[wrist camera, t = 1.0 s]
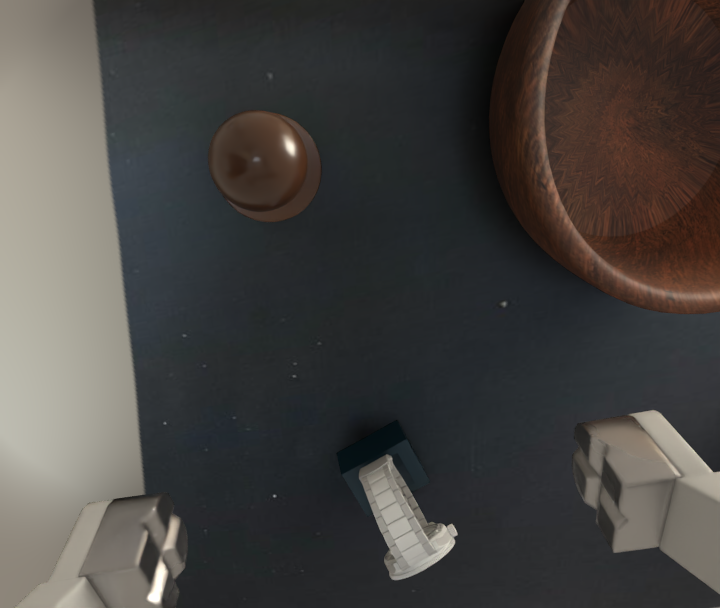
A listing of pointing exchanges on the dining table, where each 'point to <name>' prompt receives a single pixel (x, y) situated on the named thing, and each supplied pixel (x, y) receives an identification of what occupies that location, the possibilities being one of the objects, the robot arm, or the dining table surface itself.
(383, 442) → the watch
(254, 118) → the dish brush
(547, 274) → the dining table surface
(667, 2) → the wooden bowl
